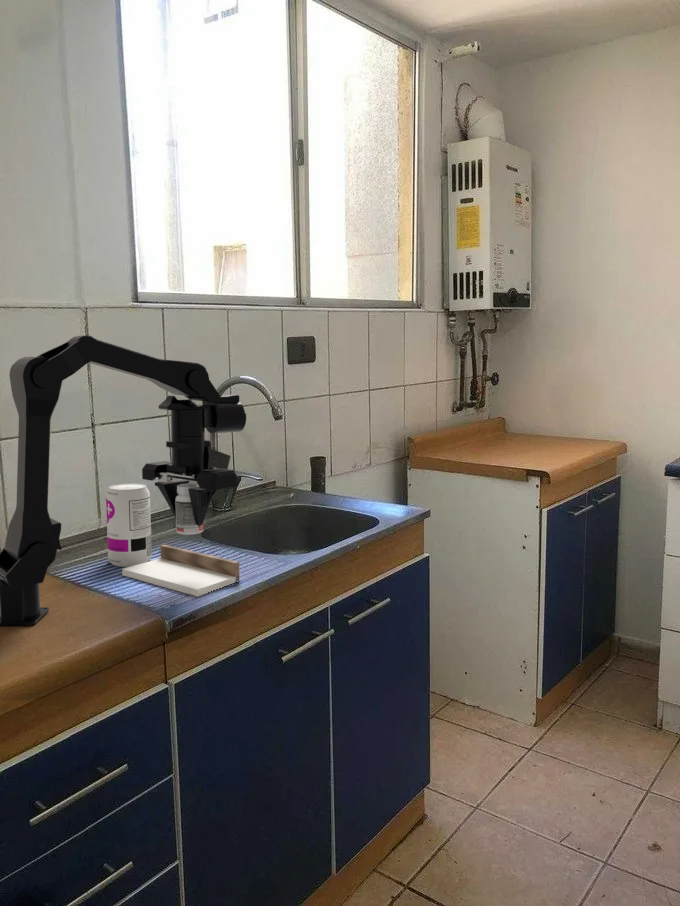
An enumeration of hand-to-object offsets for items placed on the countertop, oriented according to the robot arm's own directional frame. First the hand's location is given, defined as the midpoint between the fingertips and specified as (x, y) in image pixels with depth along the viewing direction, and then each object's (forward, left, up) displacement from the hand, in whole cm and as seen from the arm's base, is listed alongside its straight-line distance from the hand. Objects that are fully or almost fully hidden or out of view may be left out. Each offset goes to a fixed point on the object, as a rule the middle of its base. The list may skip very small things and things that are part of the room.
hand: (189, 523), depth 128 cm
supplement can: (+13, +14, -11) cm, 22 cm away
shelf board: (+2, +2, -11) cm, 11 cm away
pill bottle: (0, 0, -2) cm, 2 cm away
